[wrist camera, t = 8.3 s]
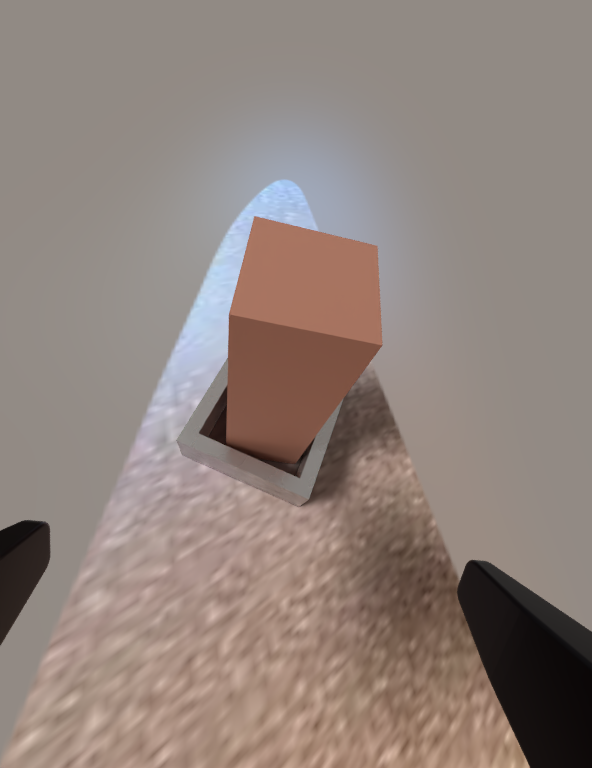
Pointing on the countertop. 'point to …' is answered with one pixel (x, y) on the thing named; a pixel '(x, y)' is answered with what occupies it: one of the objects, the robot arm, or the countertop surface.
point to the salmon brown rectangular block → (297, 336)
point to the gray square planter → (242, 465)
